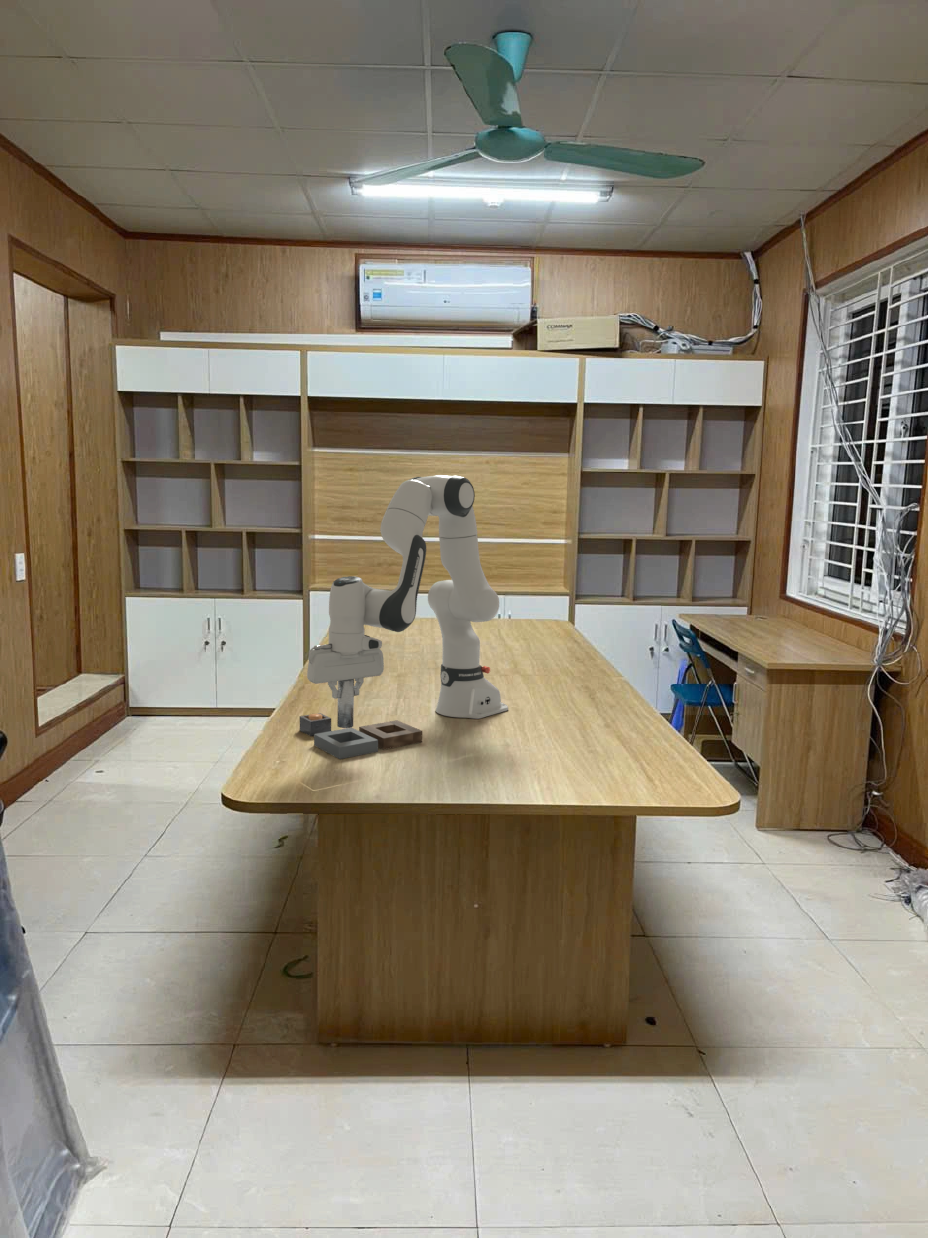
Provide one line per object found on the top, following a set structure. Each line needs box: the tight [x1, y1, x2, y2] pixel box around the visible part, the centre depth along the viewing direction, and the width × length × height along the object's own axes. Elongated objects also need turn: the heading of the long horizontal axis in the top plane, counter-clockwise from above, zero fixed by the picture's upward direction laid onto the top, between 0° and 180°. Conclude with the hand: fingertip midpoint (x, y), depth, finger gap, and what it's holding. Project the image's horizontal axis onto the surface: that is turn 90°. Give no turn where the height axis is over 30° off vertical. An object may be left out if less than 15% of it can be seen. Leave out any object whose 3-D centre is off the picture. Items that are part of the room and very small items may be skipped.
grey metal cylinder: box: [336, 679, 355, 729], centre depth 212 cm, size 4×4×12 cm
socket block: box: [358, 720, 424, 750], centre depth 222 cm, size 12×12×3 cm
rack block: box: [313, 727, 379, 760], centre depth 214 cm, size 11×13×3 cm
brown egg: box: [308, 713, 322, 720], centre depth 227 cm, size 4×4×4 cm
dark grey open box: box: [299, 712, 332, 737], centre depth 228 cm, size 6×6×4 cm
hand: (345, 696), depth 212 cm, fingers closed on grey metal cylinder, 4 cm apart
